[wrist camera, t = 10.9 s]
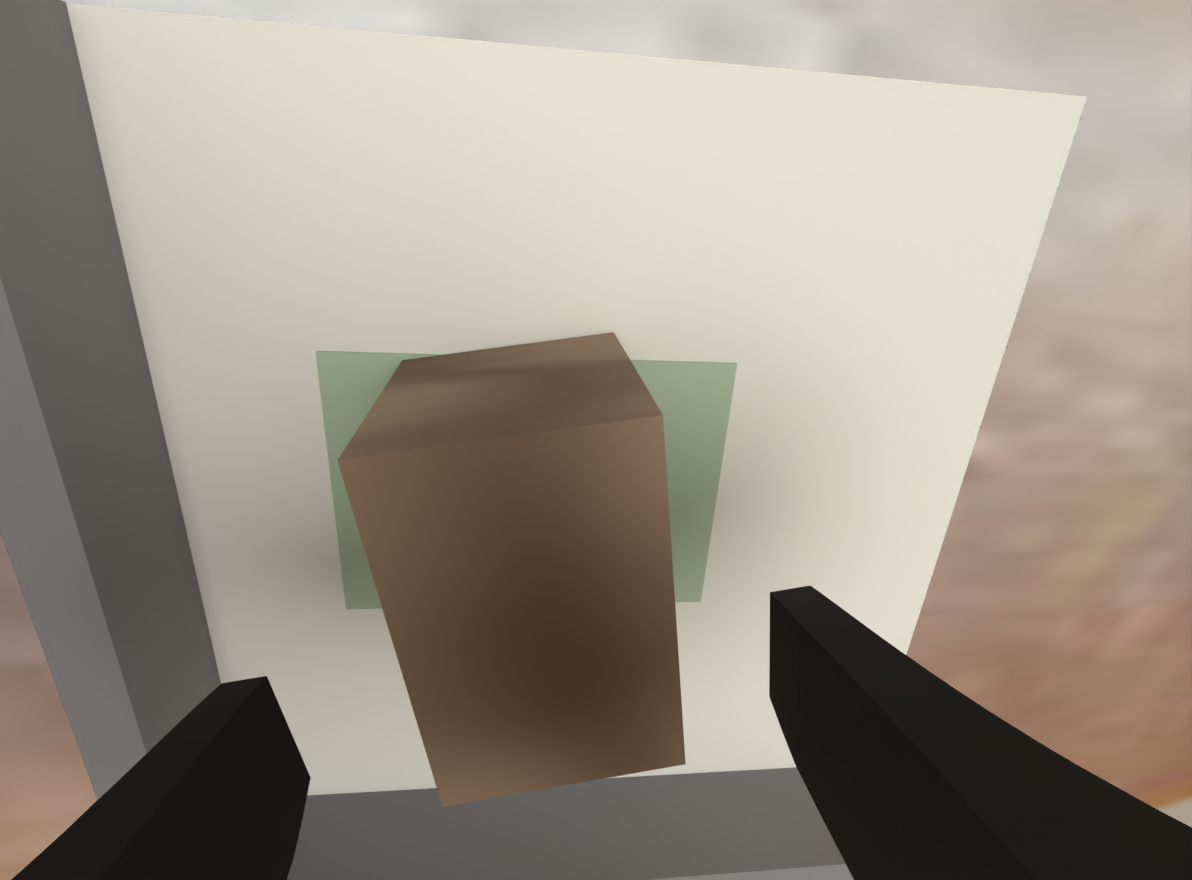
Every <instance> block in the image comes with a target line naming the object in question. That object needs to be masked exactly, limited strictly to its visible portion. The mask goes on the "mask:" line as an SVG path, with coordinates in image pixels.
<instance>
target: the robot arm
mask: <svg viewBox="0 0 1192 880" xmlns="http://www.w3.org/2000/svg"><path fill="white" fill-rule="evenodd" d="M769 697H770V700H771V702H772V705H773V708H774V711H775V713H776V716H777V719H778V721H779V724H780V727H781V729H782V732H783V735H784V737H785V740H786V742H787V745H788V747H789V750H790V753H791V755H792V758H793V760H794V763H795V765H796V767H797V769H798V771H799V773H800V775H801V777H802V779H803V781H804V783H805V785H806V787H807V789H808V791H809V793H810V795H811V797H812V799H813V801H814V803H815V805H816V807H817V809H818V811H819V813H820V815H821V817H822V819H823V821H824V823H825V825H826V827H827V829H828V830H829V832H830V834H831V836H832V838H833V840H834V842H835V844H836V846H837V848H838V850H839V852H840V854H841V856H842V858H843V860H844V862H845V864H846V865H847V867H848V869H849V871H850V873H851V875H852V877H853V879H854V880H1192V828H1191V827H1189V826H1187V825H1185V824H1183V823H1182V822H1180V821H1178V820H1176V819H1174V818H1172V817H1170V816H1168V815H1166V814H1165V813H1163V812H1161V811H1159V810H1157V809H1155V808H1153V807H1151V806H1150V805H1148V804H1146V803H1144V802H1142V801H1141V800H1139V799H1137V798H1135V797H1133V796H1132V795H1130V794H1128V793H1126V792H1124V791H1123V790H1121V789H1119V788H1117V787H1115V786H1114V785H1112V784H1110V783H1108V782H1106V781H1105V780H1103V779H1101V778H1099V777H1098V776H1096V775H1094V774H1092V773H1090V772H1089V771H1087V770H1085V769H1083V768H1081V767H1080V766H1078V765H1076V764H1074V763H1073V762H1071V761H1069V760H1068V759H1066V758H1064V757H1062V756H1061V755H1059V754H1057V753H1056V752H1054V751H1052V750H1051V749H1049V748H1047V747H1046V746H1044V745H1042V744H1041V743H1039V742H1037V741H1036V740H1034V739H1033V738H1031V737H1029V736H1028V735H1026V734H1025V733H1023V732H1021V731H1020V730H1018V729H1017V728H1015V727H1013V726H1012V725H1010V724H1009V723H1007V722H1005V721H1004V720H1002V719H1001V718H999V717H997V716H996V715H994V714H993V713H991V712H989V711H988V710H986V709H985V708H983V707H982V706H980V705H979V704H977V703H976V702H974V701H973V700H971V699H969V698H968V697H966V696H965V695H963V694H962V693H960V692H959V691H957V690H956V689H954V688H953V687H951V686H950V685H948V684H947V683H945V682H944V681H943V680H941V679H940V678H938V677H937V676H935V675H934V674H932V673H931V672H929V671H928V670H927V669H925V668H924V667H922V666H921V665H919V664H918V663H916V662H915V661H914V660H912V659H911V658H909V657H908V656H907V655H905V654H904V653H902V652H901V651H900V650H898V649H897V648H895V647H894V646H893V645H891V644H890V643H888V642H887V641H886V640H884V639H883V638H882V637H880V636H879V635H877V634H876V633H875V632H873V631H872V630H871V629H869V628H868V627H866V626H865V625H864V624H862V623H861V622H860V621H858V620H857V619H856V618H854V617H853V616H851V615H850V614H849V613H847V612H846V611H845V610H843V609H842V608H841V607H839V606H838V605H837V604H835V603H834V602H833V601H831V600H830V599H828V598H827V597H826V596H824V595H823V594H822V593H820V592H819V591H817V590H816V589H815V588H813V587H812V586H804V587H798V588H792V589H786V590H780V591H774V592H770V666H769ZM310 778H311V777H310V775H309V773H308V770H307V768H306V766H305V763H304V761H303V759H302V756H301V754H300V752H299V749H298V747H297V745H296V743H295V740H294V738H293V736H292V733H291V731H290V729H289V726H288V724H287V722H286V719H285V717H284V715H283V712H282V710H281V708H280V705H279V703H278V701H277V698H276V696H275V694H274V691H273V689H272V687H271V685H270V682H269V680H268V678H267V676H263V677H257V678H251V679H245V680H238V681H232V682H226V683H222V684H221V685H219V686H218V687H217V688H216V689H215V690H214V691H213V692H211V693H210V694H209V695H208V696H207V697H206V698H205V699H204V700H202V701H201V702H200V703H199V704H198V705H197V706H196V707H195V708H194V709H193V710H192V711H191V712H190V713H188V714H187V715H186V716H185V717H184V718H183V719H182V720H181V721H180V722H179V723H178V724H177V725H176V726H175V727H174V728H173V729H172V730H171V731H169V732H168V733H167V734H166V735H165V736H164V737H163V738H162V739H161V740H160V741H159V742H158V743H157V744H156V745H155V746H154V747H153V748H152V749H151V750H150V751H149V752H148V753H147V754H146V755H145V756H143V757H142V758H141V759H140V760H139V761H138V762H137V763H136V764H135V765H134V766H133V767H132V768H131V769H130V770H129V771H128V772H127V773H126V774H125V775H124V776H123V777H122V778H121V779H119V780H118V781H117V782H116V783H115V784H114V785H113V786H112V787H111V788H110V789H109V790H108V791H107V792H106V793H105V794H104V795H103V796H102V797H101V798H99V799H98V800H97V801H96V802H95V803H94V804H93V805H92V806H91V807H90V808H89V809H88V810H87V811H86V812H85V813H84V814H83V815H82V816H81V817H79V818H78V819H77V820H76V821H75V822H74V823H73V824H72V825H71V826H70V827H69V828H68V829H67V830H66V831H65V832H64V833H63V834H62V835H60V836H59V837H58V838H57V839H56V840H55V841H54V842H53V843H52V844H51V845H49V846H48V847H47V848H46V849H45V850H44V851H43V852H42V853H41V854H40V855H38V856H37V857H36V858H35V859H34V860H33V861H32V862H31V863H30V864H28V865H27V866H26V867H25V868H24V869H23V870H22V871H21V872H20V873H18V874H17V875H16V876H15V877H14V878H13V879H12V880H287V877H288V874H289V871H290V868H291V865H292V862H293V858H294V854H295V850H296V846H297V841H298V837H299V832H300V828H301V824H302V819H303V814H304V809H305V804H306V799H307V794H308V789H309V783H310Z"/></svg>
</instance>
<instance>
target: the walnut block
mask: <svg viewBox="0 0 1192 880" xmlns="http://www.w3.org/2000/svg"><path fill="white" fill-rule="evenodd" d="M337 461H338V465H339V468H340V471H341V474H342V478H343V481H344V484H345V488H346V491H347V494H348V497H349V501H350V504H351V507H352V511H353V514H354V517H355V521H356V524H357V527H358V530H359V534H360V537H361V540H362V544H363V547H364V550H365V553H366V557H367V560H368V563H369V567H370V570H371V573H372V577H373V580H374V583H375V586H376V590H377V593H378V596H379V600H380V603H381V606H382V609H383V613H384V616H385V619H386V623H387V626H388V629H389V633H390V636H391V639H392V642H393V646H394V649H395V652H396V656H397V659H398V662H399V665H400V669H401V672H402V675H403V679H404V682H405V685H406V689H407V692H408V695H409V698H410V702H411V705H412V708H413V712H414V715H415V718H416V721H417V725H418V728H419V731H420V735H421V738H422V741H423V745H424V748H425V751H426V754H427V758H428V761H429V764H430V768H431V771H432V774H433V777H434V781H435V784H436V787H437V791H438V794H439V797H440V801H441V804H442V807H444V806H450V805H455V804H461V803H467V802H473V801H478V800H484V799H490V798H496V797H501V796H507V795H513V794H518V793H524V792H530V791H536V790H541V789H547V788H553V787H559V786H564V785H570V784H576V783H581V782H587V781H593V780H599V779H604V778H610V777H616V776H622V775H627V774H633V773H639V772H644V771H650V770H656V769H662V768H667V767H673V766H679V765H685V764H686V762H685V747H684V732H683V716H682V701H681V685H680V670H679V654H678V639H677V623H676V608H675V593H674V577H673V562H672V546H671V531H670V515H669V500H668V484H667V469H666V454H665V438H664V423H663V414H662V413H661V411H660V409H659V407H658V406H657V404H656V402H655V401H654V399H653V397H652V396H651V394H650V392H649V391H648V389H647V387H646V386H645V384H644V382H643V381H642V379H641V377H640V376H639V374H638V372H637V371H636V369H635V367H634V365H633V364H632V362H631V360H630V359H629V357H628V355H627V354H626V352H625V350H624V349H623V347H622V345H621V344H620V342H619V340H618V339H617V337H616V335H615V334H614V333H607V334H599V335H592V336H584V337H576V338H569V339H561V340H553V341H546V342H538V343H530V344H523V345H515V346H507V347H500V348H492V349H484V350H477V351H469V352H461V353H454V354H446V355H438V356H431V357H423V358H415V359H408V360H402V361H401V363H400V365H399V366H398V368H397V369H396V371H395V372H394V374H393V375H392V377H391V378H390V380H389V381H388V383H387V385H386V386H385V388H384V389H383V391H382V392H381V394H380V395H379V397H378V398H377V400H376V402H375V403H374V405H373V406H372V408H371V409H370V411H369V412H368V414H367V415H366V417H365V418H364V420H363V422H362V423H361V425H360V426H359V428H358V429H357V431H356V432H355V434H354V435H353V437H352V438H351V440H350V442H349V443H348V445H347V446H346V448H345V449H344V451H343V452H342V454H341V455H340V457H339V459H338V460H337Z"/></svg>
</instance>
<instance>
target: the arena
mask: <svg viewBox="0 0 1192 880" xmlns="http://www.w3.org/2000/svg"><path fill="white" fill-rule="evenodd" d="M1086 98H1087V96H1076V95H1065V94H1054V93H1043V92H1032V91H1021V90H1010V89H1000V88H989V87H978V86H967V85H956V84H945V83H934V82H923V81H912V80H902V79H891V78H880V77H869V76H858V75H847V74H836V73H825V72H815V71H804V70H793V69H782V68H771V67H760V66H749V65H738V64H727V63H717V62H706V61H695V60H684V59H673V58H662V57H651V56H640V55H629V54H619V53H608V52H597V51H586V50H575V49H564V48H553V47H542V46H532V45H521V44H510V43H499V42H488V41H477V40H466V39H455V38H444V37H434V36H423V35H412V34H401V33H390V32H379V31H368V30H357V29H346V28H336V27H325V26H314V25H303V24H292V23H281V22H270V21H259V20H249V19H238V18H227V17H216V16H205V15H194V14H183V13H172V12H161V11H151V10H140V9H129V8H118V7H107V6H96V5H85V4H74V3H65V2H63V1H60V0H0V532H1V535H2V538H3V540H4V543H5V546H6V549H7V551H8V554H9V557H10V560H11V562H12V565H13V568H14V571H15V573H16V576H17V579H18V582H19V584H20V587H21V590H22V593H23V595H24V598H25V601H26V604H27V606H28V609H29V612H30V615H31V617H32V620H33V623H34V626H35V628H36V631H37V634H38V637H39V639H40V642H41V645H42V648H43V650H44V653H45V656H46V659H47V662H48V664H49V667H50V670H51V673H52V675H53V678H54V681H55V684H56V686H57V689H58V692H59V695H60V697H61V700H62V703H63V706H64V708H65V711H66V714H67V717H68V719H69V722H70V725H71V728H72V730H73V733H74V736H75V739H76V741H77V744H78V747H79V750H80V752H81V755H82V758H83V761H84V763H85V766H86V769H87V772H88V774H89V777H90V780H91V783H92V785H93V788H94V791H95V794H96V796H97V799H99V798H101V797H102V796H103V795H104V794H105V793H106V792H107V791H108V790H109V789H110V788H111V787H112V786H113V785H114V784H115V783H116V782H117V781H118V780H119V779H121V778H122V777H123V776H124V775H125V774H126V773H127V772H128V771H129V770H130V769H131V768H132V767H133V766H134V765H135V764H136V763H137V762H138V761H139V760H140V759H141V758H142V757H143V756H145V755H146V754H147V753H148V752H149V751H150V750H151V749H152V748H153V747H154V746H155V745H156V744H157V743H158V742H159V741H160V740H161V739H162V738H163V737H164V736H165V735H166V734H167V733H168V732H169V731H171V730H172V729H173V728H174V727H175V726H176V725H177V724H178V723H179V722H180V721H181V720H182V719H183V718H184V717H185V716H186V715H187V714H188V713H190V712H191V711H192V710H193V709H194V708H195V707H196V706H197V705H198V704H199V703H200V702H201V701H202V700H204V699H205V698H206V697H207V696H208V695H209V694H210V693H211V692H213V691H214V690H215V689H216V688H217V687H218V686H219V685H221V684H222V683H226V682H232V681H238V680H245V679H251V678H257V677H263V676H267V678H268V680H269V682H270V685H271V687H272V689H273V691H274V694H275V696H276V698H277V701H278V703H279V705H280V708H281V710H282V712H283V715H284V717H285V719H286V722H287V724H288V726H289V729H290V731H291V733H292V736H293V738H294V740H295V743H296V745H297V747H298V749H299V752H300V754H301V756H302V759H303V761H304V763H305V766H306V768H307V770H308V773H309V775H310V777H311V778H310V783H309V789H308V794H307V799H306V804H305V809H304V814H303V819H302V824H301V828H300V832H299V837H298V841H297V846H296V850H295V854H294V858H293V862H292V865H291V868H290V871H289V874H288V877H287V880H854V879H853V877H852V875H851V873H850V871H849V869H848V867H847V865H846V864H845V862H844V860H843V858H842V856H841V854H840V852H839V850H838V848H837V846H836V844H835V842H834V840H833V838H832V836H831V834H830V832H829V830H828V829H827V827H826V825H825V823H824V821H823V819H822V817H821V815H820V813H819V811H818V809H817V807H816V805H815V803H814V801H813V799H812V797H811V795H810V793H809V791H808V789H807V787H806V785H805V783H804V781H803V779H802V777H801V775H800V773H799V771H798V769H797V767H796V765H795V763H794V760H793V758H792V755H791V753H790V750H789V747H788V745H787V742H786V740H785V737H784V735H783V732H782V729H781V727H780V724H779V721H778V719H777V716H776V713H775V711H774V708H773V705H772V702H771V700H770V697H769V666H770V592H774V591H780V590H786V589H792V588H798V587H804V586H812V587H813V588H815V589H816V590H817V591H819V592H820V593H822V594H823V595H824V596H826V597H827V598H828V599H830V600H831V601H833V602H834V603H835V604H837V605H838V606H839V607H841V608H842V609H843V610H845V611H846V612H847V613H849V614H850V615H851V616H853V617H854V618H856V619H857V620H858V621H860V622H861V623H862V624H864V625H865V626H866V627H868V628H869V629H871V630H872V631H873V632H875V633H876V634H877V635H879V636H880V637H882V638H883V639H884V640H886V641H887V642H888V643H890V644H891V645H893V646H894V647H895V648H897V649H898V650H900V651H901V652H902V653H904V654H905V655H906V654H907V651H908V648H909V645H910V642H911V639H912V635H913V632H914V629H915V626H916V623H917V620H918V617H919V614H920V611H921V608H922V605H923V601H924V598H925V595H926V592H927V589H928V586H929V583H930V580H931V577H932V574H933V571H934V567H935V564H936V561H937V558H938V555H939V552H940V549H941V546H942V543H943V540H944V537H945V533H946V530H947V527H948V524H949V521H950V518H951V515H952V512H953V509H954V506H955V503H956V499H957V496H958V493H959V490H960V487H961V484H962V481H963V478H964V475H965V472H966V469H967V465H968V462H969V459H970V456H971V453H972V450H973V447H974V444H975V441H976V438H977V435H978V431H979V428H980V425H981V422H982V419H983V416H984V413H985V410H986V407H987V404H988V401H989V397H990V394H991V391H992V388H993V385H994V382H995V379H996V376H997V373H998V370H999V367H1000V363H1001V360H1002V357H1003V354H1004V351H1005V348H1006V345H1007V342H1008V339H1009V336H1010V333H1011V329H1012V326H1013V323H1014V320H1015V317H1016V314H1017V311H1018V308H1019V305H1020V302H1021V299H1022V295H1023V292H1024V289H1025V286H1026V283H1027V280H1028V277H1029V274H1030V271H1031V268H1032V265H1033V261H1034V258H1035V255H1036V252H1037V249H1038V246H1039V243H1040V240H1041V237H1042V234H1043V231H1044V228H1045V224H1046V221H1047V218H1048V215H1049V212H1050V209H1051V206H1052V203H1053V200H1054V197H1055V194H1056V190H1057V187H1058V184H1059V181H1060V178H1061V175H1062V172H1063V169H1064V166H1065V163H1066V160H1067V156H1068V153H1069V150H1070V147H1071V144H1072V141H1073V138H1074V135H1075V132H1076V129H1077V126H1078V122H1079V119H1080V116H1081V113H1082V110H1083V107H1084V104H1085V101H1086ZM607 333H614V334H615V335H616V337H617V339H618V340H619V342H620V344H621V345H622V347H623V349H624V350H625V352H626V354H627V355H628V357H629V359H630V360H631V362H632V364H633V365H634V367H635V369H636V371H637V372H638V374H639V376H640V377H641V379H642V381H643V382H644V384H645V386H646V387H647V389H648V391H649V392H650V394H651V396H652V397H653V399H654V401H655V402H656V404H657V406H658V407H659V409H660V411H661V413H662V414H663V423H664V438H665V454H666V469H667V484H668V500H669V515H670V531H671V546H672V562H673V577H674V593H675V608H676V623H677V639H678V654H679V670H680V685H681V701H682V716H683V732H684V747H685V762H686V764H685V765H679V766H673V767H667V768H662V769H656V770H650V771H644V772H639V773H633V774H627V775H622V776H616V777H610V778H604V779H599V780H593V781H587V782H581V783H576V784H570V785H564V786H559V787H553V788H547V789H541V790H536V791H530V792H524V793H518V794H513V795H507V796H501V797H496V798H490V799H484V800H478V801H473V802H467V803H461V804H455V805H450V806H444V807H442V804H441V801H440V797H439V794H438V791H437V787H436V784H435V781H434V777H433V774H432V771H431V768H430V764H429V761H428V758H427V754H426V751H425V748H424V745H423V741H422V738H421V735H420V731H419V728H418V725H417V721H416V718H415V715H414V712H413V708H412V705H411V702H410V698H409V695H408V692H407V689H406V685H405V682H404V679H403V675H402V672H401V669H400V665H399V662H398V659H397V656H396V652H395V649H394V646H393V642H392V639H391V636H390V633H389V629H388V626H387V623H386V619H385V616H384V613H383V609H382V606H381V603H380V600H379V596H378V593H377V590H376V586H375V583H374V580H373V577H372V573H371V570H370V567H369V563H368V560H367V557H366V553H365V550H364V547H363V544H362V540H361V537H360V534H359V530H358V527H357V524H356V521H355V517H354V514H353V511H352V507H351V504H350V501H349V497H348V494H347V491H346V488H345V484H344V481H343V478H342V474H341V471H340V468H339V465H338V461H337V460H338V459H339V457H340V455H341V454H342V452H343V451H344V449H345V448H346V446H347V445H348V443H349V442H350V440H351V438H352V437H353V435H354V434H355V432H356V431H357V429H358V428H359V426H360V425H361V423H362V422H363V420H364V418H365V417H366V415H367V414H368V412H369V411H370V409H371V408H372V406H373V405H374V403H375V402H376V400H377V398H378V397H379V395H380V394H381V392H382V391H383V389H384V388H385V386H386V385H387V383H388V381H389V380H390V378H391V377H392V375H393V374H394V372H395V371H396V369H397V368H398V366H399V365H400V363H401V361H402V360H408V359H415V358H423V357H431V356H438V355H446V354H454V353H461V352H469V351H477V350H484V349H492V348H500V347H507V346H515V345H523V344H530V343H538V342H546V341H553V340H561V339H569V338H576V337H584V336H592V335H599V334H607Z"/></svg>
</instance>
